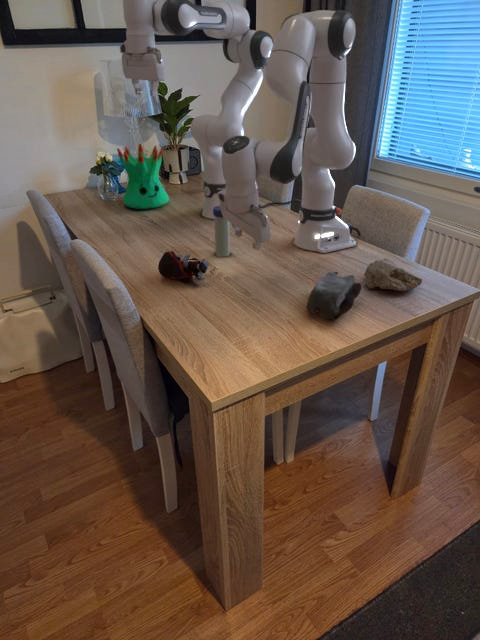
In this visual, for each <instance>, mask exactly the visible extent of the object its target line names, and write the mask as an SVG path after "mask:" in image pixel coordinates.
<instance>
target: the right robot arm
mask: <svg viewBox="0 0 480 640" xmlns="http://www.w3.org/2000/svg"><path fill="white" fill-rule="evenodd" d="M356 35H357V24H356V20H355V17H354V16H353V14H352V13H351V12H349V11H348V10H347V11H346V10H343V9H337V10H328V9H327V10H326V9H325V10H324V9H322V10H319V9H317V10H314V11H308V12H303V13H302V12H301V13H299V12H297V13H293V14H290V15H288V16H287V17H286V18H285V19H284V20H283V21H282V23H281V25H280V27H279V31H278V33H277V35H276V38H275V40H274V41H273V42H274V44H273V47H272V50H271V53H270V55H269V58H268V61H267V65H266V67H265V68H264V70H265V72H264V79H265V83H266V85H267V87H268V89H269V90H270V92H271V93H272V94H273V95H274V96H275V97H277V99H279V100H281V101H282V102H283V103H285V104H287V105H289V107H290V113H289V119H288V125H287V129H286V135H285V136H286V137H285V139H284V140H282V141H281V142H280V141H273V140H267V139H263V138H256V137H251V138H250V137H248V136H246V135H244V136H234V137H232V138H230V139H228V140H227V141H226V142H225V143H224V144H223V146H222V154H221V160H222V171H223V177H224V180H225V182H226V188H225V189H224V190H222V191H220V192H218V193H217V195H218V199H219V200H220V208H221V213H222V215H223V217H224V218H225V219H226V220H228V221H229V224H230V225H231V227H232V229H233V232H234V235H235V236H236V237H238V238H240V237H242V236H243V233H245V234H247V235H248V236H249V237H251V238H252V239H253V241H254V242H252V248H253V249H254V250H255V251H258V250H261V247H262V244H263V243H265V242H268V241H269V240H270V239H272V231H271V224H270V219H269V217H268V215H267V214H266V213H264V211H263V210H262V209H261V208H259V207H258V205H260V199H259V186H258V183H257V180H256V179H258V178H262V179H266V180H271V181H273V182H277V183H280V184H282V185H288V184H290V183H292V182H293V181H295V180H296V179H297V178H298V177H299V176H300V175H301V185H302V186H301V203H300V205H299V211H298V226H297V231H296V235H295V238H294V240H293V244H294V245H295V246H296V247H298V248H299V249H302V250H306V251H311V252H317V253H320V254H326V253H331V252H336V251H339V250H343V249H348V248H354V247H356V240H355V239H354V238H353V237H351V234H353V231H356V233H357V235H358V237H361V235H362V233H361V230H359V229H358V227H355V226H354V225H352V224H351V223H348V222H344V221H343V220H342V219H340V218H339V217H338V216H337V215H339V216H340V215H342V214H343V209H341V208H340V207H337V206H335V205H334V197H335V189H336V184H335V181H334V179H333V178H332V176H331V173H330V170H339V171H340V170H345V169H346V168H348V167H349V166H350V165H351V164H352V162H353V161H354V159H355V156H356V145H355V143H354V141H353V140H352V138H351V136H350V134H349V132H348V127H347V125H346V119H345V93H346V81H347V55H348V53H349V52H350V51H351V49H352V48H353V46H354V44H355V40H356ZM309 69H310V70H309ZM308 72H309V80H308V77H307V76H308ZM307 80H308V81H309V82H308V81H307ZM310 117H311V118H312V121H313V124H314V127H308V126H309V120H310Z"/></svg>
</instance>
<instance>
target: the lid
mask: <svg viewBox="0 0 480 640" xmlns="http://www.w3.org/2000/svg"><path fill="white" fill-rule="evenodd" d="M213 214H214V216H216V217H223V215H222V213H221V208H220V206H216V207H214V208H213Z"/></svg>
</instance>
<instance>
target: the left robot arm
mask: <svg viewBox="0 0 480 640" xmlns="http://www.w3.org/2000/svg"><path fill="white" fill-rule="evenodd" d="M122 8H123V9H122V10H123V20H124V23H125V27H126V32H125V36H126V40H124V42H123V43H122V44H120V45H119V53H120V54H121V66H122V72H123V75H124V78H125V79H128V80H129V79H130V80H131V84H132V87H133V89H134V94H135V95H142V94H143V91H142V90H143V89H142V88H141V86H140V84H139V83H140V81H148V82H149V81H150V85H151V89H150V90H149V93H150V97H155V98H156V97H158V90H159V86H160V82H165V80H166V79H167V77H166V76H167V75H166V65H165V61H164V57H163V55H162V52H161V50H160V49H159V47H156V37H155V35H157V36H178V37H179V36H180V37H183V36H184V37H185V36H187V35H188V34H191V33H192V32H193V31H195V30H202V31H203V33H204V34H205V36H207V37H210V38H214V39H220V40H222V52H223V55H224V57H225V59H226V60H227V61H228V62H231V63H233V64H238V68H237V71H236V73H235V75H233V77H232V78H231V80H230V82H229V83H228V85H227V87H226V88H225V89H224V91H223V93H222V95H221V96H220V105H221V107H222V108H221V110H220V112H219V114H218V115H212V114H200V115H197V116H195V117H194V118H193V119H192V121H191V123H190V134H191V136H192V138H193V139H194V140H195V142H196V145H197V146H198V149H199V151H200V154H201V158H202V164H203V177H204V180H203V193H204V194H203V195H204V199H203V206H202V207H203V208H202V211H201V216H202V217H204V218H205V219H210V220H215V218H214V214H213V208H214V207H216V206H220V200H219V199H218V195H217V193H218V192H220V191H222V190H224V189H225V188H226V182H225V180H224V177H223V171H222V160H221V154H222V146H223V144H224V143H225V142H226V141H227V140H228V139H230V138H232V137H234V136H245V129H244V126H243V121H244V118H245V115H246V113H247V111H248V109H249V108H250V106H251V104H252V102H253V101H254V99H255V98H256V96H257V94H258V92H259V90H260V88H261V86H262V82H263V80H264V72H263V70H264V69H266V65H267V61H268V58H269V55H270V53H271V50H272V47H273V44H274V42H275V41H274V39H273V36H272V35H271V34H270V33H269V32H267V31H265V30H261V29H260V30H255V29H251V28H250V24H251V17H250V14H249V11H248V10H247V9H246V8H245V7H244V6H242V5H240V4H238V3H235V2H230V1H223V0H217V1H210V2H207V3H205V4H204V5H198V4H195V3H193V2H192V1H190V0H122ZM294 202H298V203H299V204H301V202H302V200H300V199H298V198H294V199H292V200H290V201H285V202H281V201H279V202H278V201H277V202H276V201H275V202H268V203H266V204H264V205H260V204H259V205H258V207H257V208H259V209H265V208H266V207H268V206H269V205H270V206H271V205H289V204H291V203H294Z"/></svg>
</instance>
